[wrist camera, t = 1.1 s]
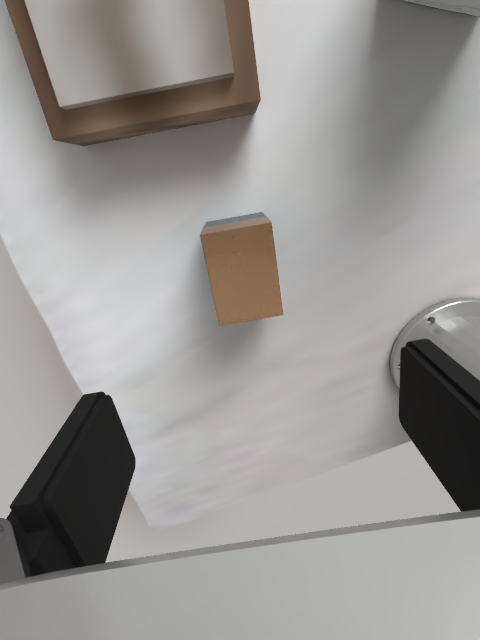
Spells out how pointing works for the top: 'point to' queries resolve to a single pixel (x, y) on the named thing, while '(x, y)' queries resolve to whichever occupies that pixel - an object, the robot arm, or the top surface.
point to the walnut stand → (136, 64)
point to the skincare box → (453, 5)
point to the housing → (242, 268)
